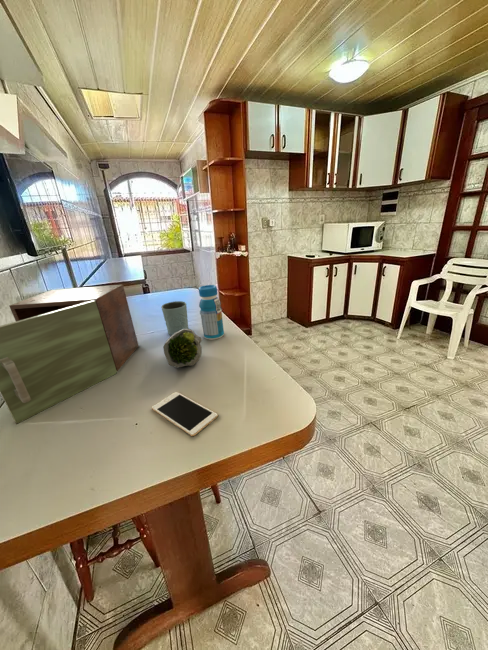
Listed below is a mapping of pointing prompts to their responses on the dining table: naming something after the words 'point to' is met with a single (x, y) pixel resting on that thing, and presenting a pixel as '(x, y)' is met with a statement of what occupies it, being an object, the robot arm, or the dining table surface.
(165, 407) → the cell phone
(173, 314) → the grey green cup
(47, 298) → the cupboard
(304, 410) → the dining table surface
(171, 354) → the potted plant
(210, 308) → the beverage bottle
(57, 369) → the cupboard door
